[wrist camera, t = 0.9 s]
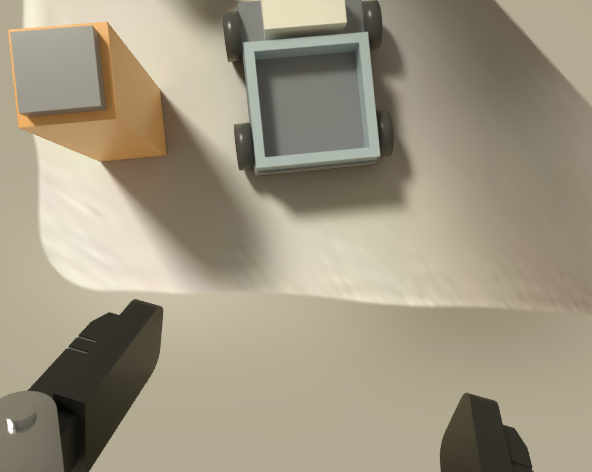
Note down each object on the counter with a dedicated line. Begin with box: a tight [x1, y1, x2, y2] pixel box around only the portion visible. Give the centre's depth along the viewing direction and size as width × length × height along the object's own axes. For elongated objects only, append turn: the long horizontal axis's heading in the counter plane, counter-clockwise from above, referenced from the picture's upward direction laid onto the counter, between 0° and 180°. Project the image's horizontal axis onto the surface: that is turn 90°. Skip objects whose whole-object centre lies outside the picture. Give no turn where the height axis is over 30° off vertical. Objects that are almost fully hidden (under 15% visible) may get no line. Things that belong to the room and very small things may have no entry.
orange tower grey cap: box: [8, 22, 167, 162], centre depth 29 cm, size 4×4×12 cm
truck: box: [223, 0, 393, 176], centre depth 33 cm, size 11×10×4 cm
